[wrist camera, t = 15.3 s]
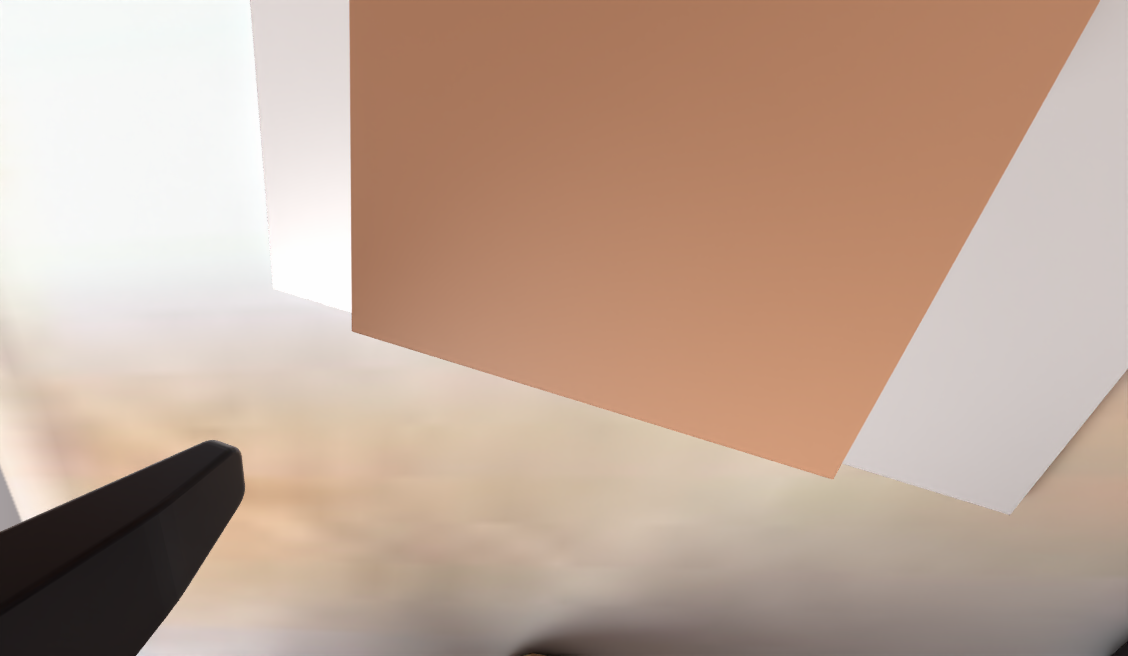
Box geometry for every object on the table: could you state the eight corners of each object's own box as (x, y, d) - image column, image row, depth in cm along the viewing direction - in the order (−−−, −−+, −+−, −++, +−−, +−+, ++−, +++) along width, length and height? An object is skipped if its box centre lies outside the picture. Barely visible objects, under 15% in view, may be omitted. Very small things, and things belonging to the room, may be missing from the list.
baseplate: (1757, -458, 10) (1806, -475, 9) (1004, 500, 21) (1009, 515, 21) (218, -656, 13) (195, -677, 12) (283, 280, 24) (273, 288, 24)
